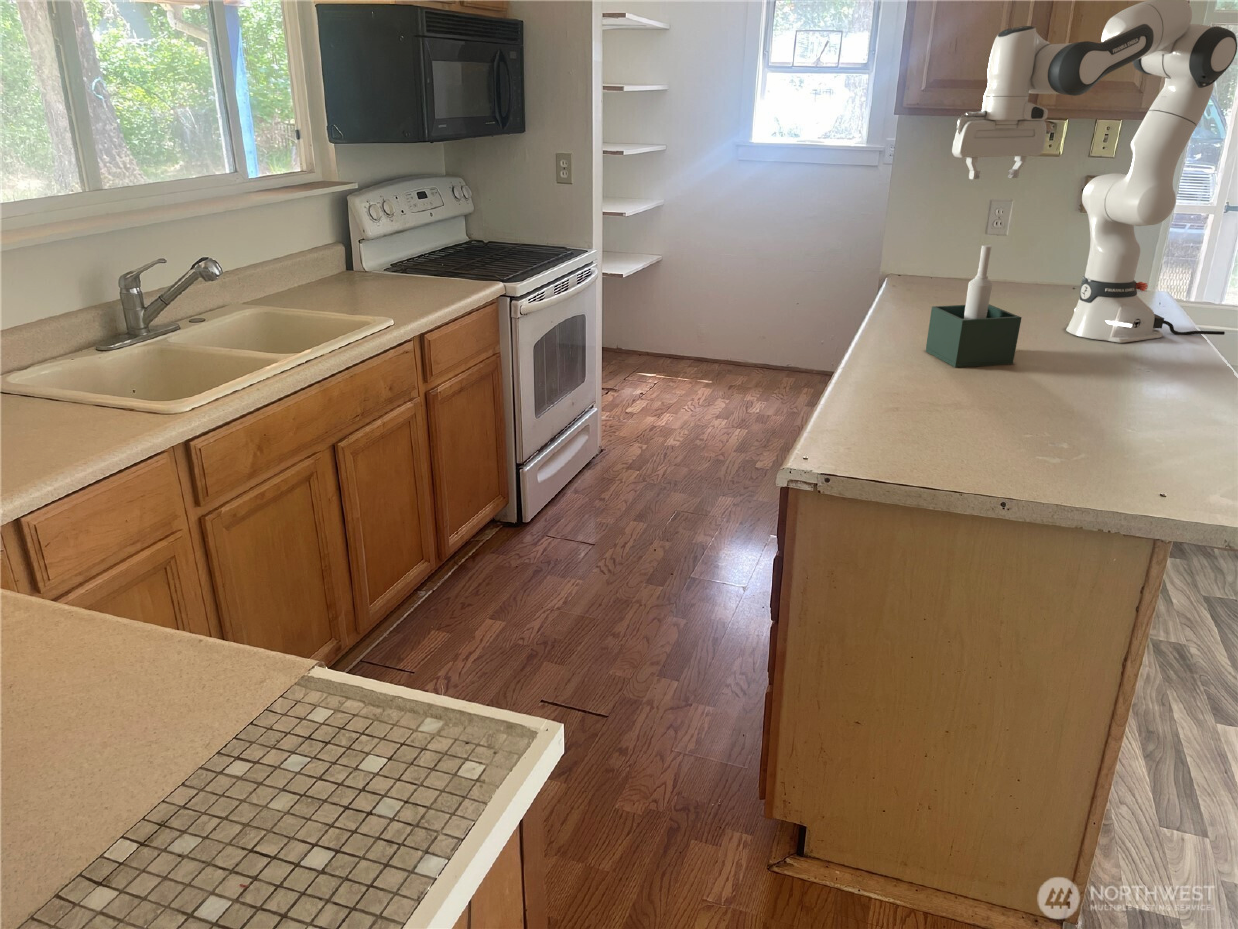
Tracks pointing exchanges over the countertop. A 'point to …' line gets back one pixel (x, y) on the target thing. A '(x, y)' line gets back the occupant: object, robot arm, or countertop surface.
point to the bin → (972, 336)
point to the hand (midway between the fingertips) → (993, 178)
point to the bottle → (979, 289)
